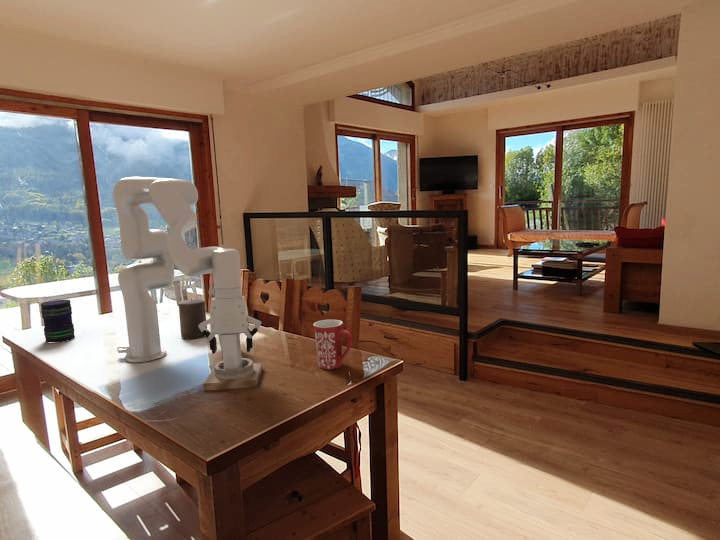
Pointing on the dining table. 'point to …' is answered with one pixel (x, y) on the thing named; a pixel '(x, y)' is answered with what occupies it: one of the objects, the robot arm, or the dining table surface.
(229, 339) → the skincare box
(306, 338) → the dining table surface
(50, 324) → the storage jar
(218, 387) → the ring stand
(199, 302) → the pillar candle
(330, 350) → the mug
